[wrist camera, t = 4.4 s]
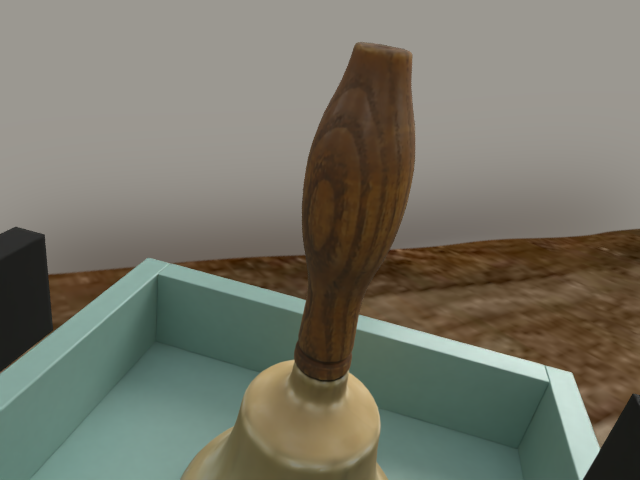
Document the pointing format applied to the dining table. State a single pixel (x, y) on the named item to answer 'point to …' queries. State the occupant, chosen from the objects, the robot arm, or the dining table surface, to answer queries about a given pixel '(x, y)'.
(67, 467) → the open box
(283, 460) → the hand bell
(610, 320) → the dining table surface
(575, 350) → the dining table surface
